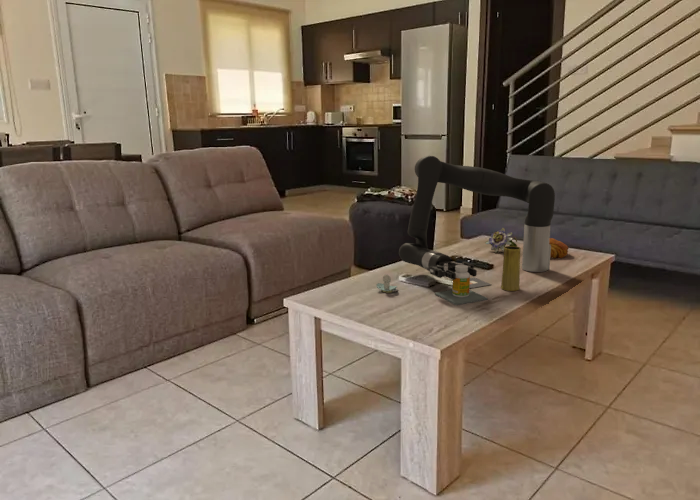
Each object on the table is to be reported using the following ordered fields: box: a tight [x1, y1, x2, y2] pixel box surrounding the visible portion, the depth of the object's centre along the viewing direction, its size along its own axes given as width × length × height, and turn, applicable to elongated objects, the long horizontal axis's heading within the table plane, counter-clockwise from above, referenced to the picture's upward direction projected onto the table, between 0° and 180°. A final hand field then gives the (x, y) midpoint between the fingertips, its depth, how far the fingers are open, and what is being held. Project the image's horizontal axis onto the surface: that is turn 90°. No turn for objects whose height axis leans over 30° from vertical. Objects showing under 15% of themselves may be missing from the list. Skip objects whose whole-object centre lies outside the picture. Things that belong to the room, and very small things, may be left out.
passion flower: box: [484, 227, 518, 254], centre depth 235 cm, size 11×11×12 cm
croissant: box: [549, 237, 569, 259], centre depth 228 cm, size 14×16×8 cm
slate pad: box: [434, 289, 488, 306], centre depth 176 cm, size 12×12×1 cm
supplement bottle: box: [451, 265, 471, 297], centre depth 175 cm, size 5×5×10 cm
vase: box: [500, 245, 521, 292], centre depth 183 cm, size 6×6×14 cm
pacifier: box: [376, 274, 399, 294], centre depth 184 cm, size 7×6×6 cm
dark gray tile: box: [469, 276, 492, 290], centre depth 191 cm, size 10×10×1 cm
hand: (465, 274), depth 173 cm, fingers open, 7 cm apart
